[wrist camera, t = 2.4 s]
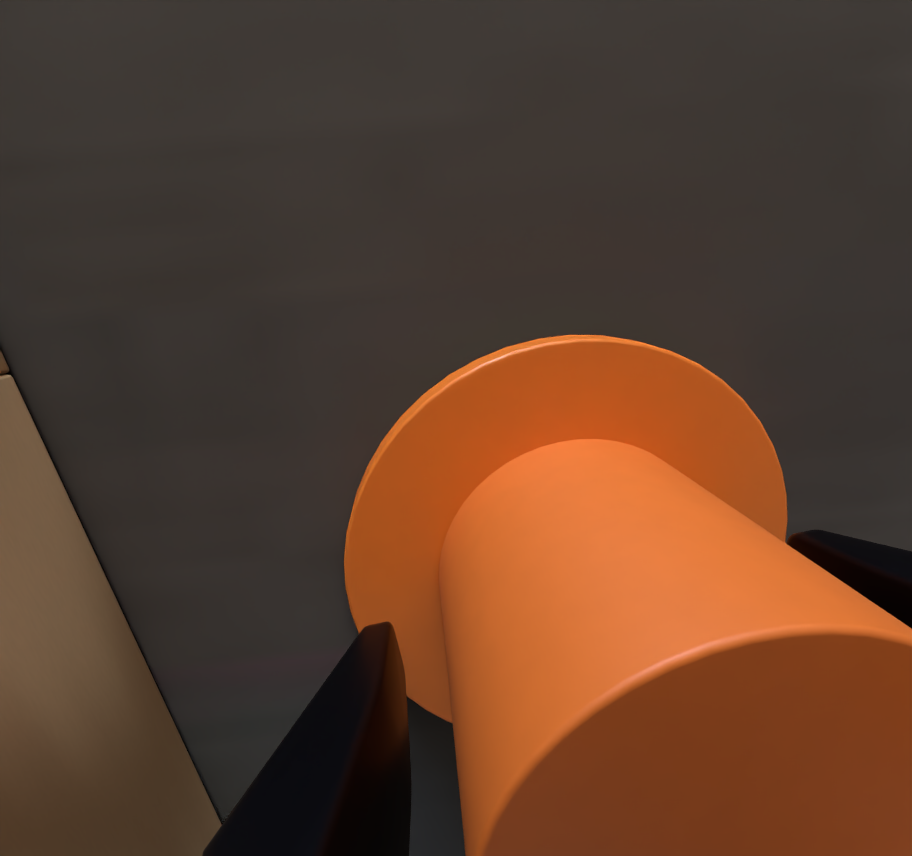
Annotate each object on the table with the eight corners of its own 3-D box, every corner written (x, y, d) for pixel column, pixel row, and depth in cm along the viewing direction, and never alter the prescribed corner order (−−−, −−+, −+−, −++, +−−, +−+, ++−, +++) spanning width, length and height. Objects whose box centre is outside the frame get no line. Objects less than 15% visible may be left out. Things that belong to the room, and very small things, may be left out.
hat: (762, 669, 10) (1082, 1017, 5) (399, 751, 10) (389, 1199, 5) (769, 293, 8) (1354, 299, 3) (294, 385, 8) (86, 559, 3)
